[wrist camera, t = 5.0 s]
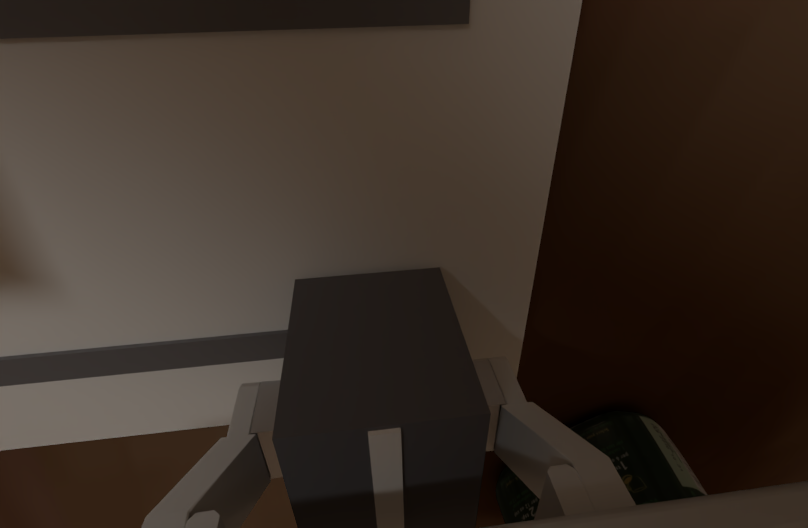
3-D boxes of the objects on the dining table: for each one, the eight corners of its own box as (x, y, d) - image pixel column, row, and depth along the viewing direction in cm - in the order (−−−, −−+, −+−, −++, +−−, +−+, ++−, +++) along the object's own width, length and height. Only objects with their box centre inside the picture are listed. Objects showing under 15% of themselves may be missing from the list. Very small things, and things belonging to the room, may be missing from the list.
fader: (318, 402, 15) (309, 573, 10) (295, 279, 12) (271, 443, 8) (435, 389, 15) (473, 549, 11) (439, 267, 12) (492, 418, 8)
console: (-137, 400, 16) (-227, 480, 14) (-764, -213, 8) (-1329, -312, 5) (490, 337, 19) (515, 395, 16) (553, -193, 10) (630, -254, 7)
